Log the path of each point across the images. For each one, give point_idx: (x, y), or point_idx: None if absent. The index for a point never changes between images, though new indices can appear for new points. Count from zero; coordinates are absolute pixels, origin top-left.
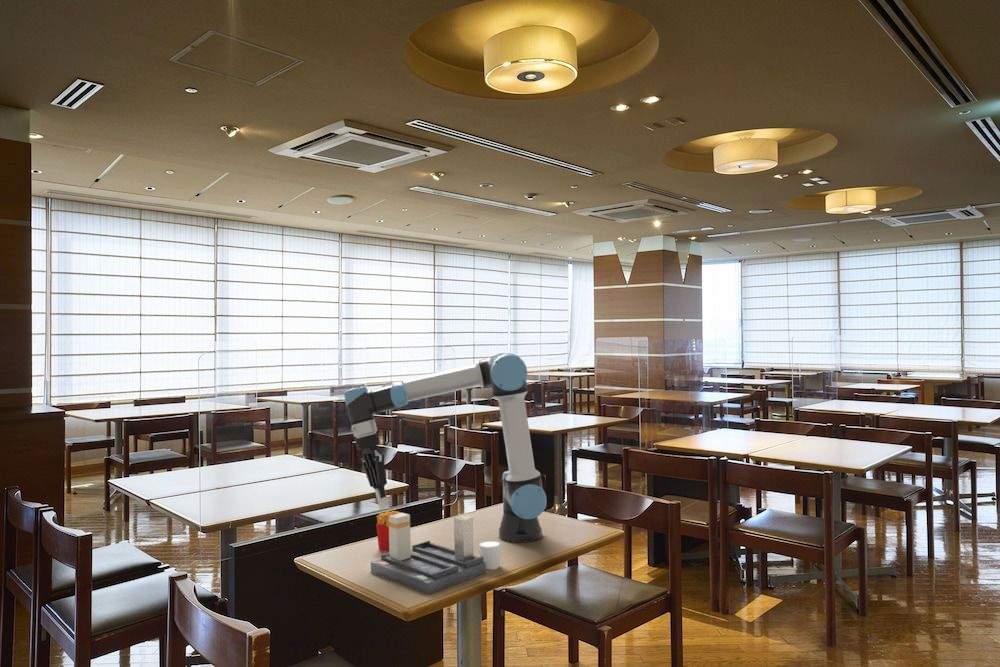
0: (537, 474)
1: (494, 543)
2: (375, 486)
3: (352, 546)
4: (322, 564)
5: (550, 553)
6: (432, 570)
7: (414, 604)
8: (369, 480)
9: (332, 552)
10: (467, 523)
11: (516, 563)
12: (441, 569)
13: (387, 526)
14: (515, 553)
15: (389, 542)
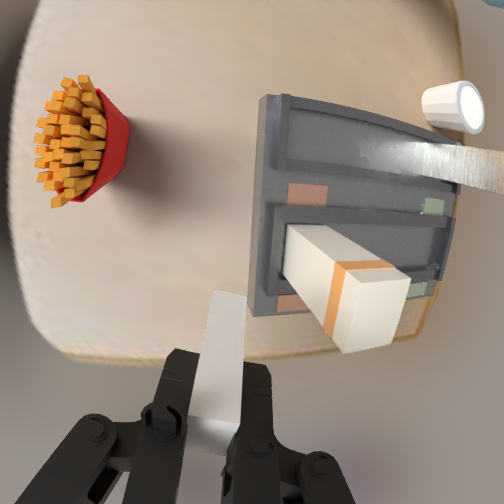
0: None
1: (473, 98)
2: (182, 461)
3: (22, 218)
4: (106, 347)
5: (447, 7)
6: (413, 249)
7: (418, 322)
8: (96, 495)
9: (36, 284)
10: None
11: (449, 71)
12: (424, 232)
13: (99, 161)
14: (416, 17)
15: (301, 296)
